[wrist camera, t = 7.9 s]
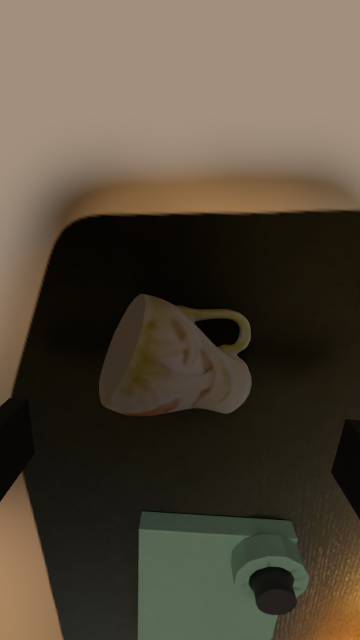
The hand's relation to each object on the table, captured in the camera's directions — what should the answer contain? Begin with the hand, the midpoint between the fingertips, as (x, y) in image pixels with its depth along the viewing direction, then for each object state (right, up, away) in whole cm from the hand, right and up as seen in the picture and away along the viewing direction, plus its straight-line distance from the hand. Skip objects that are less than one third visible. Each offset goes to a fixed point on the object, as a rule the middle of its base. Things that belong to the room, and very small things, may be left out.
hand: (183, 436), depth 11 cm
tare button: (+7, -17, +12) cm, 22 cm away
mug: (0, +3, +9) cm, 9 cm away
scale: (+3, -22, +17) cm, 28 cm away
